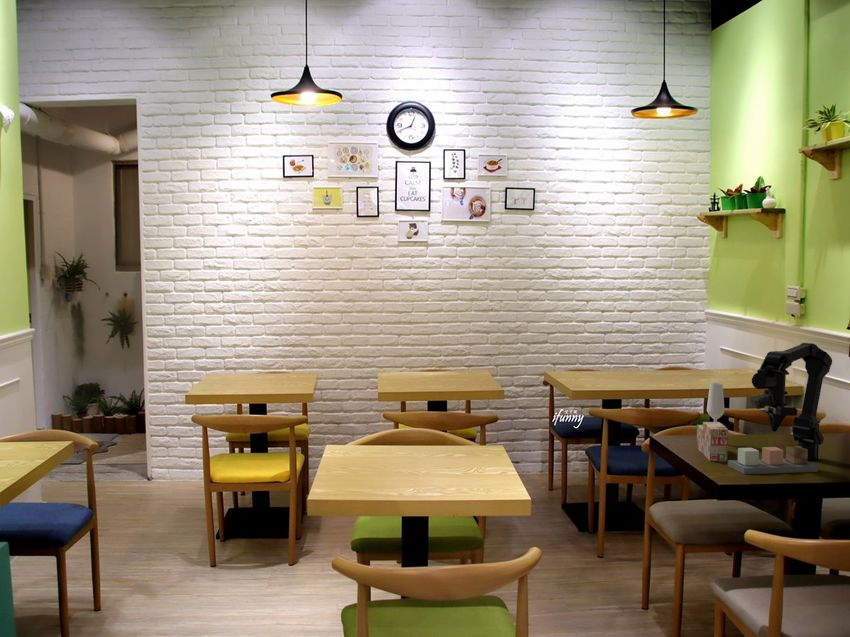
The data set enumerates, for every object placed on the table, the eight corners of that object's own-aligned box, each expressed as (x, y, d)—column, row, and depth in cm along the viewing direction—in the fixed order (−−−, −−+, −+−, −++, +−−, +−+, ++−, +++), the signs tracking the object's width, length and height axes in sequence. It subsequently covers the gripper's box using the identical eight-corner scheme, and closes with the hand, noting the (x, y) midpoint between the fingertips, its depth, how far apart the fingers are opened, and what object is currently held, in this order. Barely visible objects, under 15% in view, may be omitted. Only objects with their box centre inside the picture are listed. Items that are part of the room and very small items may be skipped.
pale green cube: (751, 461, 276) (751, 447, 276) (758, 465, 271) (759, 450, 271) (737, 461, 276) (738, 447, 275) (744, 465, 271) (745, 451, 270)
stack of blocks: (696, 448, 306) (696, 416, 305) (712, 448, 306) (713, 417, 305) (709, 461, 285) (710, 428, 284) (727, 462, 284) (728, 428, 284)
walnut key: (798, 460, 278) (799, 446, 278) (807, 463, 273) (807, 449, 273) (785, 460, 278) (786, 446, 277) (793, 464, 273) (794, 449, 272)
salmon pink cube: (775, 460, 277) (775, 446, 277) (783, 464, 272) (783, 450, 272) (761, 461, 277) (762, 447, 276) (769, 464, 272) (769, 450, 271)
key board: (799, 463, 282) (799, 458, 282) (817, 471, 271) (817, 466, 271) (727, 465, 279) (727, 460, 278) (743, 474, 268) (743, 468, 268)
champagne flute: (719, 445, 309) (721, 385, 308) (703, 443, 314) (704, 383, 312) (726, 442, 314) (728, 383, 313) (709, 440, 319) (711, 381, 317)
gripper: (741, 383, 284) (739, 426, 285) (768, 391, 266) (766, 436, 267) (770, 384, 286) (768, 426, 286) (799, 391, 267) (797, 437, 268)
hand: (774, 431), depth 277 cm, fingers closed
